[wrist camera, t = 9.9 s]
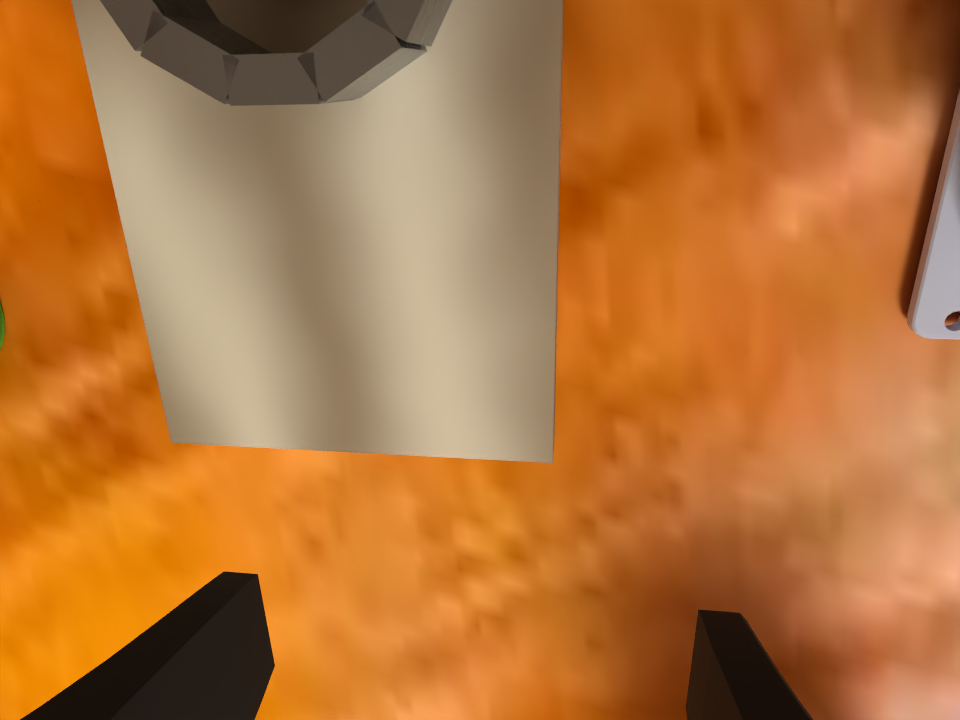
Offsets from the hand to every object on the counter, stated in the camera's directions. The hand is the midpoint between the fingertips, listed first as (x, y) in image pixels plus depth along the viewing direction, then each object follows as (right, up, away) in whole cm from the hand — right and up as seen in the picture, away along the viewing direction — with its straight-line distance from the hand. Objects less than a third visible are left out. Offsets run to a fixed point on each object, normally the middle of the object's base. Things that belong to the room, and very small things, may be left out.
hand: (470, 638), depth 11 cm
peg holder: (-4, +12, +6) cm, 14 cm away
